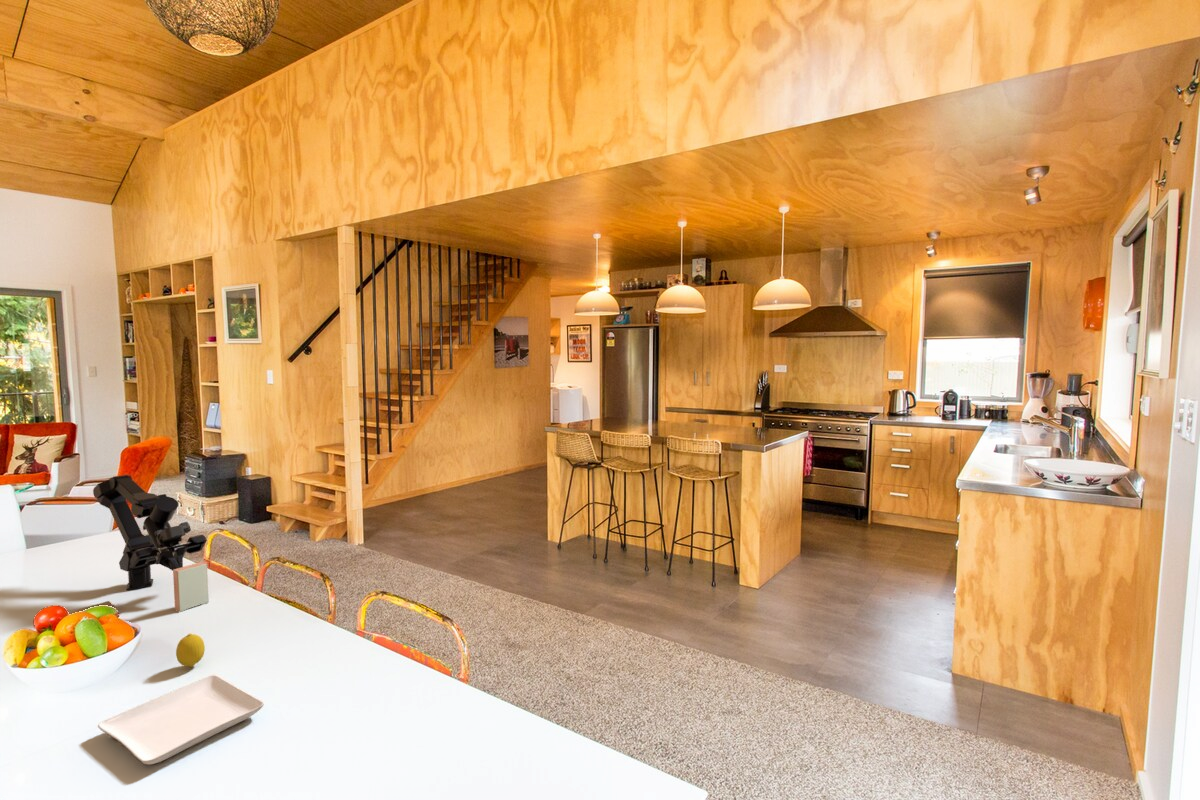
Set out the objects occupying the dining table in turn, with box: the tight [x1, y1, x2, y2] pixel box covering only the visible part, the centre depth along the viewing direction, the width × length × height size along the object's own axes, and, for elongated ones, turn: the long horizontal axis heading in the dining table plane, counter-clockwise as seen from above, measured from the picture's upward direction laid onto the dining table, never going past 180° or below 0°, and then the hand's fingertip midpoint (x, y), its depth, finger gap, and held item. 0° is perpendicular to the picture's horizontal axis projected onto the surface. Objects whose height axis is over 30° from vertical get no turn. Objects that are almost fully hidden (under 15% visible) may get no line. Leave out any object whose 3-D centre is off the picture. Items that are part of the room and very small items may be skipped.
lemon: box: [175, 633, 206, 668], centre depth 142 cm, size 6×6×8 cm
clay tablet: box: [68, 600, 118, 614], centre depth 171 cm, size 14×10×3 cm
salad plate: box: [97, 674, 265, 765], centre depth 119 cm, size 21×21×3 cm
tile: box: [172, 561, 210, 612], centre depth 176 cm, size 2×8×12 cm, turn 150°
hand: (180, 573), depth 179 cm, fingers closed
